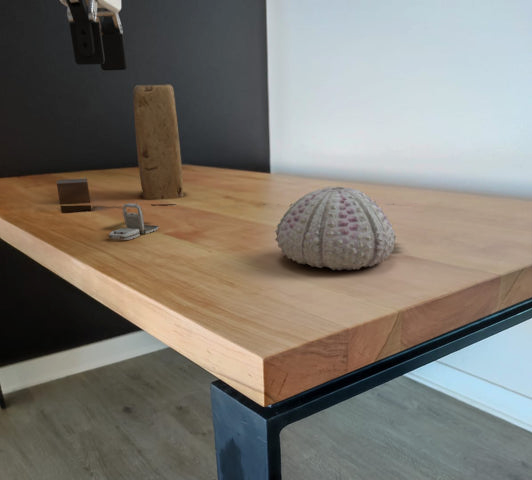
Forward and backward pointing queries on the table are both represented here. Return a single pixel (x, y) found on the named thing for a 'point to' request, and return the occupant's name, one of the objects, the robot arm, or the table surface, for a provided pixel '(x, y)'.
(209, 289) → the table surface
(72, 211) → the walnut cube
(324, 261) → the sea urchin shell
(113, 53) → the robot arm
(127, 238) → the strap clip
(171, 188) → the block
